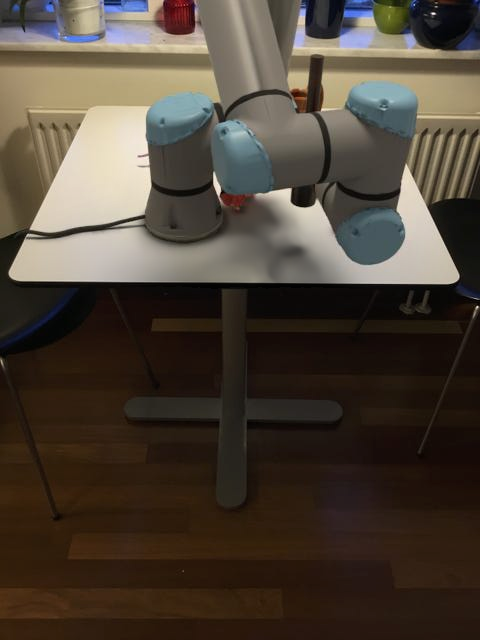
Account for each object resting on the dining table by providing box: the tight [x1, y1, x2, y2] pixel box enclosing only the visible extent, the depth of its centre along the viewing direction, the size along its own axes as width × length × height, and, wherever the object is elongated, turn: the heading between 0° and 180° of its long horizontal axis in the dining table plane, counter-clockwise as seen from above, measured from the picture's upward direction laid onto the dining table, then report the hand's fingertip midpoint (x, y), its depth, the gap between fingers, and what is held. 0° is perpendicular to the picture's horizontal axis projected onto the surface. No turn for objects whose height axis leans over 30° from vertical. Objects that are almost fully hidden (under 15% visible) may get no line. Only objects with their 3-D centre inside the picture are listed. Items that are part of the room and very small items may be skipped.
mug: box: [290, 83, 325, 113], centre depth 129 cm, size 15×8×15 cm, turn 143°
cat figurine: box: [218, 187, 253, 211], centre depth 113 cm, size 7×7×12 cm
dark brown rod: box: [289, 53, 325, 209], centre depth 90 cm, size 4×4×24 cm
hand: (302, 115), depth 93 cm, fingers closed on dark brown rod, 2 cm apart
